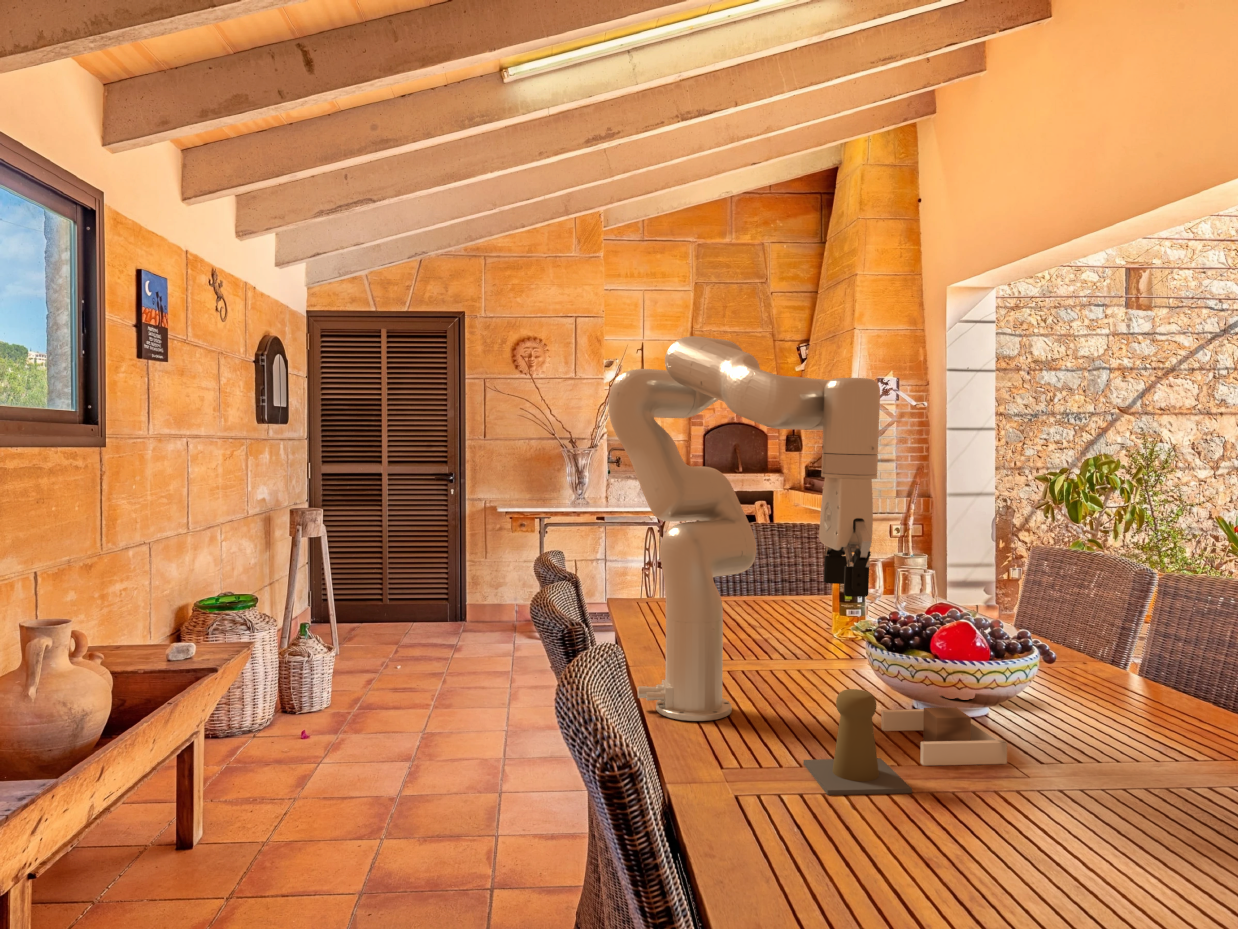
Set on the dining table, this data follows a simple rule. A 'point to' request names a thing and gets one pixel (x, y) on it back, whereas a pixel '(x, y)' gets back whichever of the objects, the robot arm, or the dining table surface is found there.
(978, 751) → the tray
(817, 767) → the mat
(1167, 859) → the dining table surface
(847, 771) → the cork
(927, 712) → the walnut block
